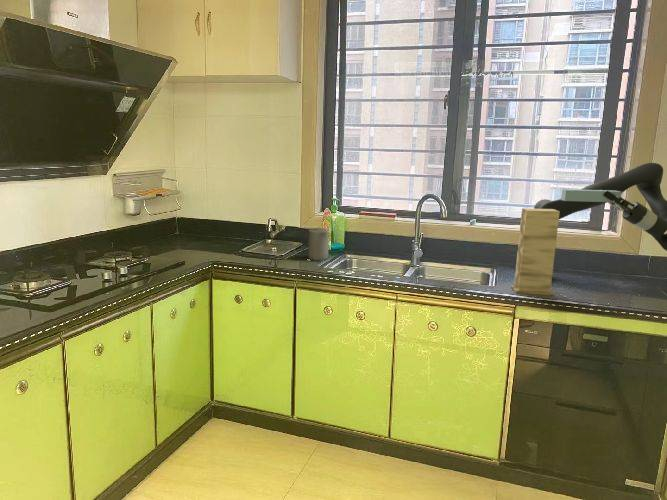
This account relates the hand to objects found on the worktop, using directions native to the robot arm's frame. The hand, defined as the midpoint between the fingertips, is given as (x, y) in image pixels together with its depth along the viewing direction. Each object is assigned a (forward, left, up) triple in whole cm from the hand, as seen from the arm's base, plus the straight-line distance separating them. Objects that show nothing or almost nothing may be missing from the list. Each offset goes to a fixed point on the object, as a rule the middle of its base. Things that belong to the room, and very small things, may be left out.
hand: (602, 192), depth 196 cm
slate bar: (0, -4, -3) cm, 5 cm away
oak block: (0, -22, -39) cm, 45 cm away
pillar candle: (-45, -109, -40) cm, 124 cm away
